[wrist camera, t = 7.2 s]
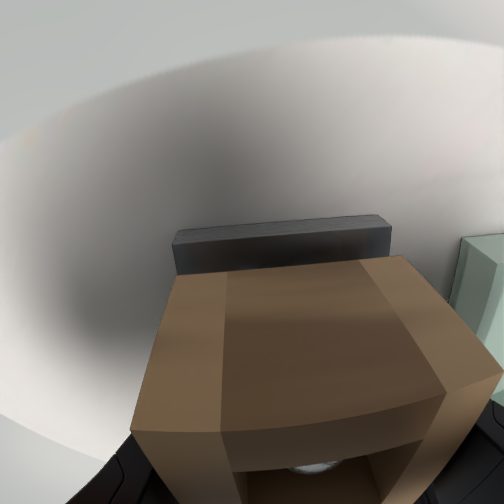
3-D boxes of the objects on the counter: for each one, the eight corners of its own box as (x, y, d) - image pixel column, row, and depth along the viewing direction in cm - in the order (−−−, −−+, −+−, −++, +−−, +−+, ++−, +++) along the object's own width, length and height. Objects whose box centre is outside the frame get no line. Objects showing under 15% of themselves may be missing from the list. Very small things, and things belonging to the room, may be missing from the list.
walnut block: (372, 400, 11) (411, 505, 7) (211, 419, 11) (206, 536, 7) (402, 255, 9) (504, 371, 4) (176, 275, 9) (129, 429, 4)
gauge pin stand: (360, 361, 14) (411, 488, 8) (208, 377, 14) (199, 518, 8) (377, 214, 11) (501, 331, 5) (178, 231, 11) (115, 382, 5)
